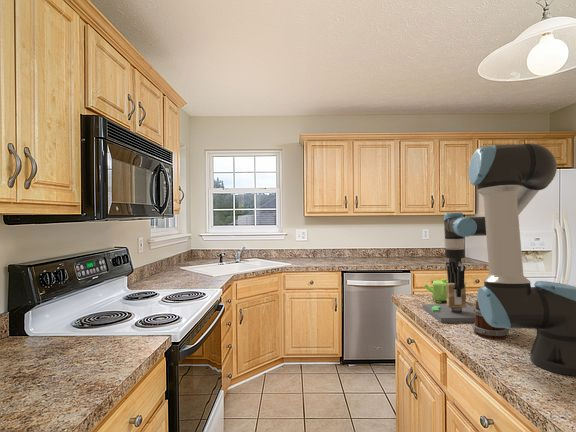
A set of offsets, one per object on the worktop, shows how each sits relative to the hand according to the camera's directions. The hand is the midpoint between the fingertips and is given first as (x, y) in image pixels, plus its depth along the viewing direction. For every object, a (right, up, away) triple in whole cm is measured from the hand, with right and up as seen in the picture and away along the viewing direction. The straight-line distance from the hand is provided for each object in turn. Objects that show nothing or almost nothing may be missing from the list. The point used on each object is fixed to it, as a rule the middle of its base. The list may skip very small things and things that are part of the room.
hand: (456, 303), depth 149 cm
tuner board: (0, -6, +2) cm, 6 cm away
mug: (+3, -6, -22) cm, 23 cm away
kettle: (+7, -6, +25) cm, 26 cm away
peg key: (0, -3, +4) cm, 5 cm away
